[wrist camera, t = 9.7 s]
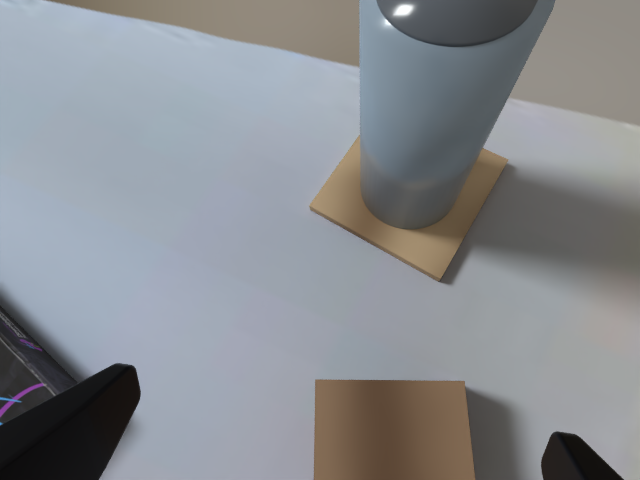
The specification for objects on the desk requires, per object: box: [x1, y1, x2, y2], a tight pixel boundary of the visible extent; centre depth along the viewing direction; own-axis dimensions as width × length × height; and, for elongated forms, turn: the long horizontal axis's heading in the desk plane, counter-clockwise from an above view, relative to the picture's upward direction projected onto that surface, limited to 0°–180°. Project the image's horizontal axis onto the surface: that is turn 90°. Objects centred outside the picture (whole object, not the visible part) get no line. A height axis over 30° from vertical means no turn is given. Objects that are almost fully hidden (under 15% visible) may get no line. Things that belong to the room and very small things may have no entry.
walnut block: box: [314, 380, 475, 480], centre depth 19 cm, size 7×5×3 cm
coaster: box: [309, 135, 508, 282], centre depth 25 cm, size 9×9×1 cm
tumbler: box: [360, 0, 555, 229], centre depth 18 cm, size 6×6×13 cm
